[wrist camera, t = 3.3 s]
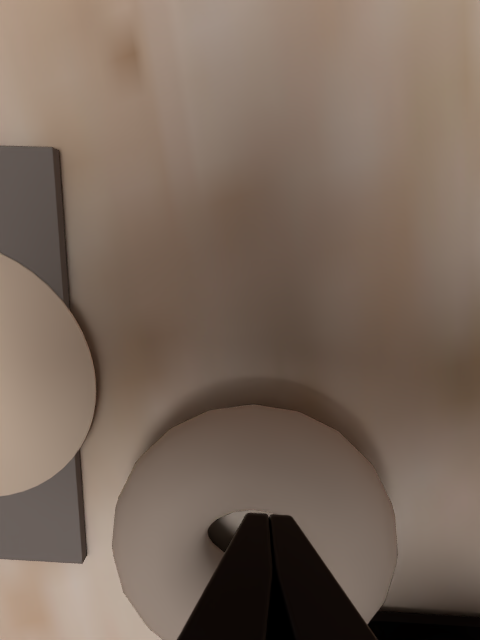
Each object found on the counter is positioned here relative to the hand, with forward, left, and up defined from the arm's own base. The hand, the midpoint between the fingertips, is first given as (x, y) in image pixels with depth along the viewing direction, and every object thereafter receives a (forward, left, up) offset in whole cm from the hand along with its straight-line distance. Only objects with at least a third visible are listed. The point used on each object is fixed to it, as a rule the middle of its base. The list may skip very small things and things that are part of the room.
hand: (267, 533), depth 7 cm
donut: (+3, +1, -6) cm, 6 cm away
